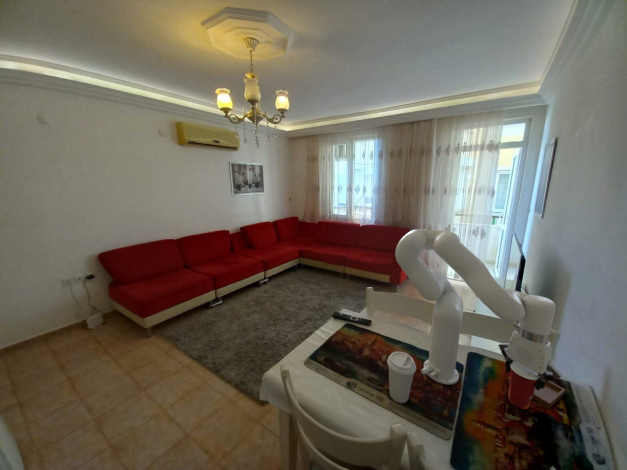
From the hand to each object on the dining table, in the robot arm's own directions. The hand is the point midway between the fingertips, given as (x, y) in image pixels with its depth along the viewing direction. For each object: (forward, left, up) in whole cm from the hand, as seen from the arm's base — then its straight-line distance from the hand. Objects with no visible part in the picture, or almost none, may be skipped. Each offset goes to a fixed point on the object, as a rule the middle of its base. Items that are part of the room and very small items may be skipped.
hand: (523, 378), depth 81 cm
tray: (+12, 0, -9) cm, 15 cm away
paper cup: (0, 0, -10) cm, 10 cm away
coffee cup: (-35, +21, -10) cm, 42 cm away
